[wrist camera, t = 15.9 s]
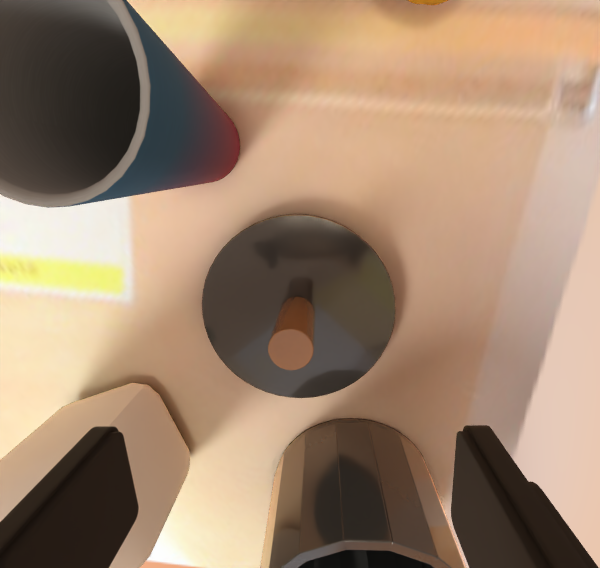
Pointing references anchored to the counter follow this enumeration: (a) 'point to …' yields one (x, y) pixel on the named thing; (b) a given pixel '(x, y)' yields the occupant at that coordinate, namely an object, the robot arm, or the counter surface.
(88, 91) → the cup
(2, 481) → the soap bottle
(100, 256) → the counter surface
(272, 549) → the pot
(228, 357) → the lid
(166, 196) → the counter surface
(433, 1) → the apple
